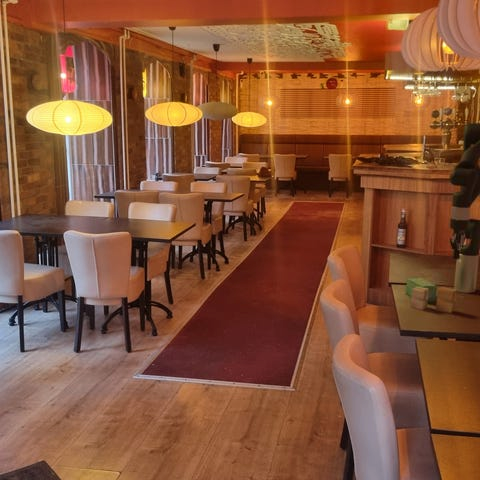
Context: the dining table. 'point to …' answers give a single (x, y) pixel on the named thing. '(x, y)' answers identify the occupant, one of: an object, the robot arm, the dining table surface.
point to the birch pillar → (419, 298)
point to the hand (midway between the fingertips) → (456, 258)
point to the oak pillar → (446, 300)
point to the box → (424, 284)
